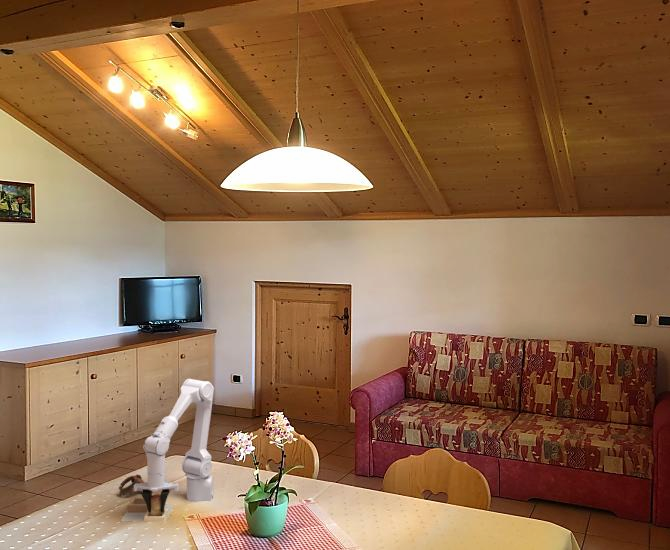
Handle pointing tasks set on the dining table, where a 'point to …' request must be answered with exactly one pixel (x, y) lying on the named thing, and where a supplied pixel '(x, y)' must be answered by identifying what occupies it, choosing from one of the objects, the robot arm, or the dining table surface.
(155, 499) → the pin
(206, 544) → the dining table surface
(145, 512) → the mount
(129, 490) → the brown curved piece
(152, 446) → the robot arm
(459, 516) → the dining table surface
